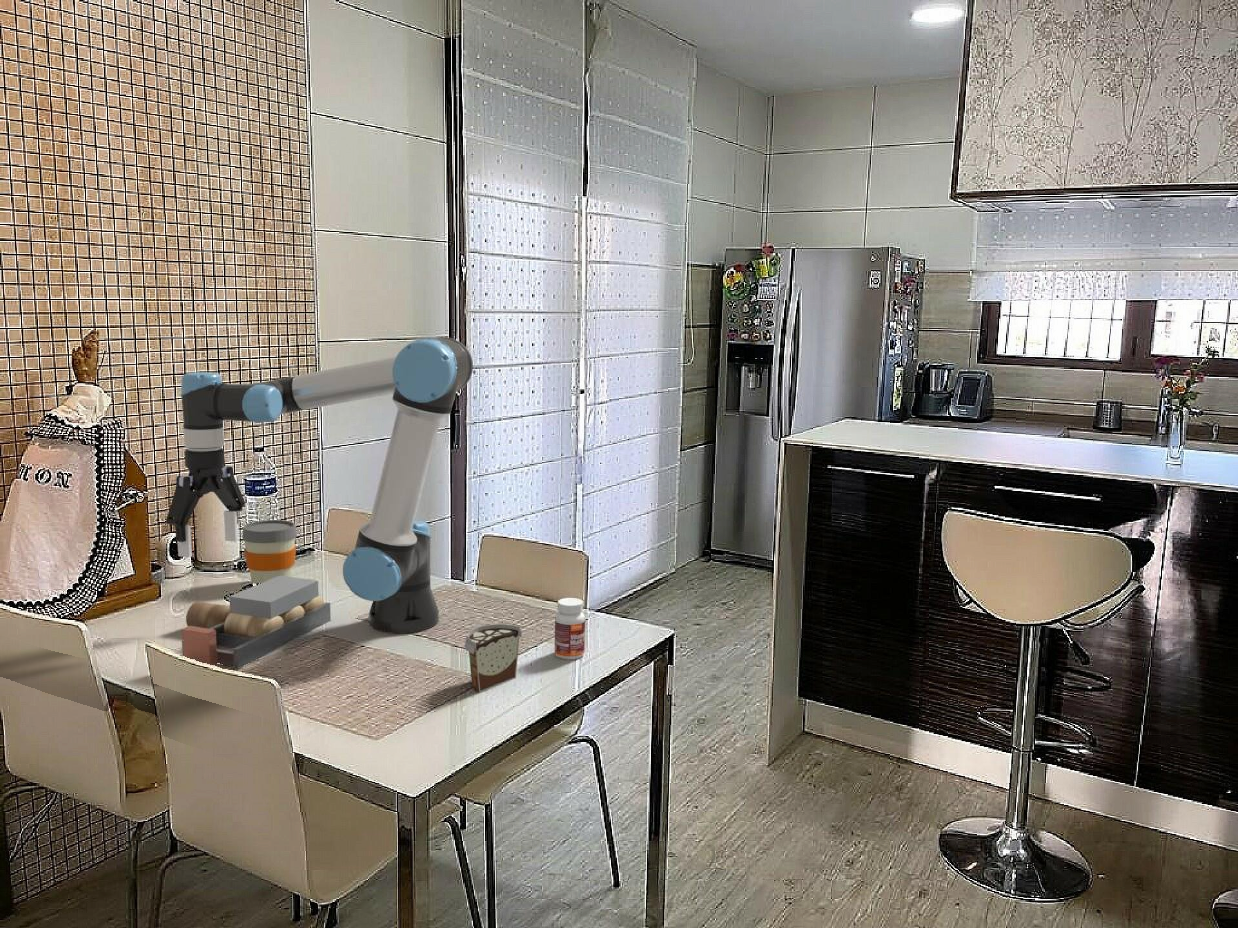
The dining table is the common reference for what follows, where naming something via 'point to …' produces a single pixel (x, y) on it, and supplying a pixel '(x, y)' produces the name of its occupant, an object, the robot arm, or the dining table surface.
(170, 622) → the dining table surface
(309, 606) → the roller
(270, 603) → the slab
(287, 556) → the reusable coffee cup
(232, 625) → the roller
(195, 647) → the roller bed
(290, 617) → the roller
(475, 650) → the food container
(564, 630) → the pill bottle
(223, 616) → the roller
